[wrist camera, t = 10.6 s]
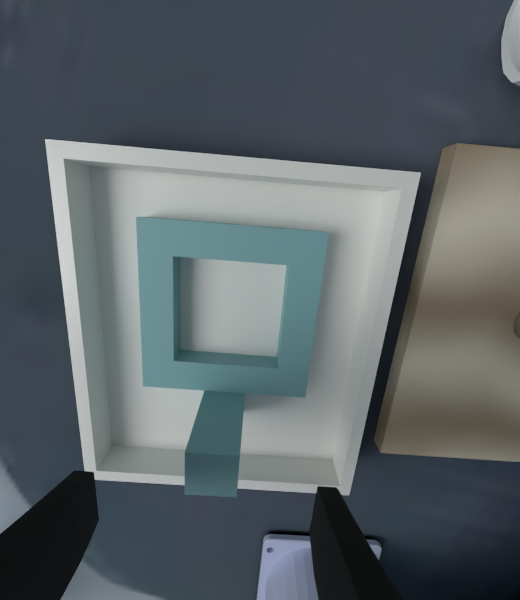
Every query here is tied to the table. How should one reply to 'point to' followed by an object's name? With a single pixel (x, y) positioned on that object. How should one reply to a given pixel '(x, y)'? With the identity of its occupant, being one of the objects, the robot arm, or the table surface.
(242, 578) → the table surface
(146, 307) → the teal frame with handle
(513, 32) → the cup
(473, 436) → the board
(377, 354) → the tray
